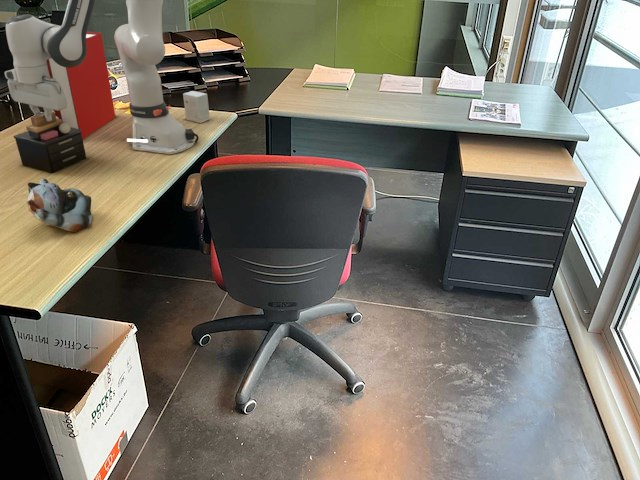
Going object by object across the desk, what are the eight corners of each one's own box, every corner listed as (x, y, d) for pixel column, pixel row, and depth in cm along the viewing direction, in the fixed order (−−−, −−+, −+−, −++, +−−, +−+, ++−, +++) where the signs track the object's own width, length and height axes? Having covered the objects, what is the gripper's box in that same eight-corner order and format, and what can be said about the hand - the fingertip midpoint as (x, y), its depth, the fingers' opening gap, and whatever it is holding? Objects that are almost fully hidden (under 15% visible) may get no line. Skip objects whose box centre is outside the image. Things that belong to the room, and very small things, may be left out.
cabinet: (88, 159, 178) (82, 129, 173) (53, 174, 167) (45, 143, 162) (58, 151, 183) (51, 122, 178) (21, 165, 172) (13, 135, 167)
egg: (64, 123, 171) (69, 132, 172) (55, 126, 169) (60, 135, 170) (69, 120, 169) (74, 130, 170) (60, 123, 167) (65, 133, 168)
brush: (65, 129, 172) (60, 111, 169) (38, 139, 164) (33, 120, 161) (55, 127, 174) (50, 108, 171) (28, 136, 166) (23, 117, 163)
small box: (210, 119, 216) (207, 93, 211) (200, 123, 212) (197, 96, 207) (195, 116, 220) (192, 90, 214) (185, 119, 216) (182, 93, 210)
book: (81, 139, 194) (62, 46, 177) (61, 137, 194) (40, 45, 178) (117, 116, 217) (103, 32, 200) (98, 114, 218) (82, 31, 201)
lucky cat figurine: (92, 232, 137) (54, 197, 126) (51, 249, 138) (10, 216, 128) (97, 193, 147) (62, 157, 136) (59, 209, 148) (21, 175, 138)
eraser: (53, 134, 169) (52, 130, 168) (58, 135, 168) (57, 131, 168) (41, 138, 165) (40, 134, 165) (45, 140, 165) (44, 135, 164)
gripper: (67, 76, 158) (76, 122, 166) (18, 67, 166) (29, 111, 173) (49, 81, 154) (59, 128, 161) (0, 72, 161) (12, 117, 168)
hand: (43, 119), depth 167 cm, fingers closed on brush, 2 cm apart
